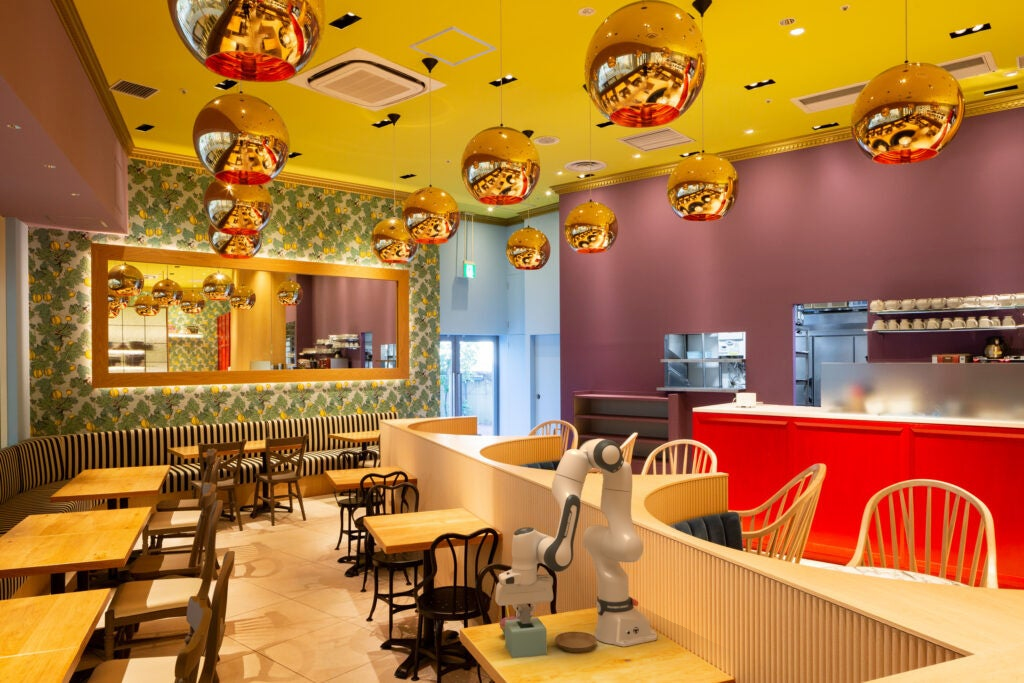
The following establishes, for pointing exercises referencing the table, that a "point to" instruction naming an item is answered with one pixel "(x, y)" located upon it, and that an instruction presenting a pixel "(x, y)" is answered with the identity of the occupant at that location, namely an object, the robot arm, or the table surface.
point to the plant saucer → (575, 641)
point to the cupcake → (502, 623)
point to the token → (525, 613)
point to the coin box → (525, 638)
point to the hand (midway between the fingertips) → (524, 616)
